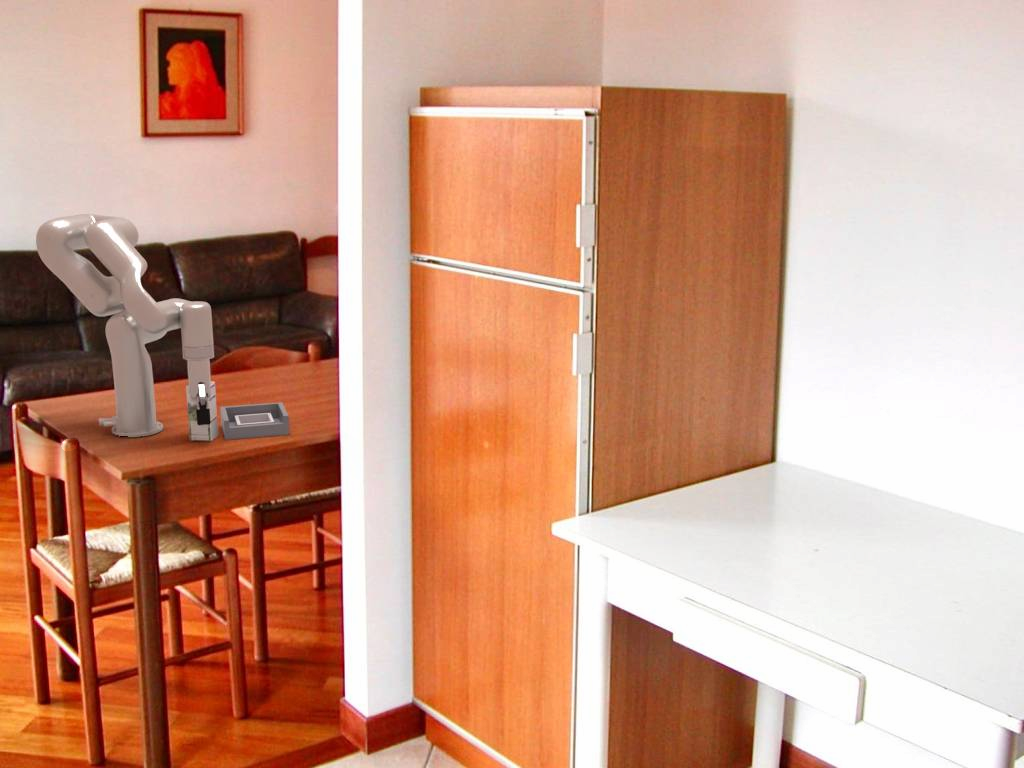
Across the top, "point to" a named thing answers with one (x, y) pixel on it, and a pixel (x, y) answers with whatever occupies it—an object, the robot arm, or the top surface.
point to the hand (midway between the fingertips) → (203, 419)
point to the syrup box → (196, 430)
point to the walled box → (254, 420)
